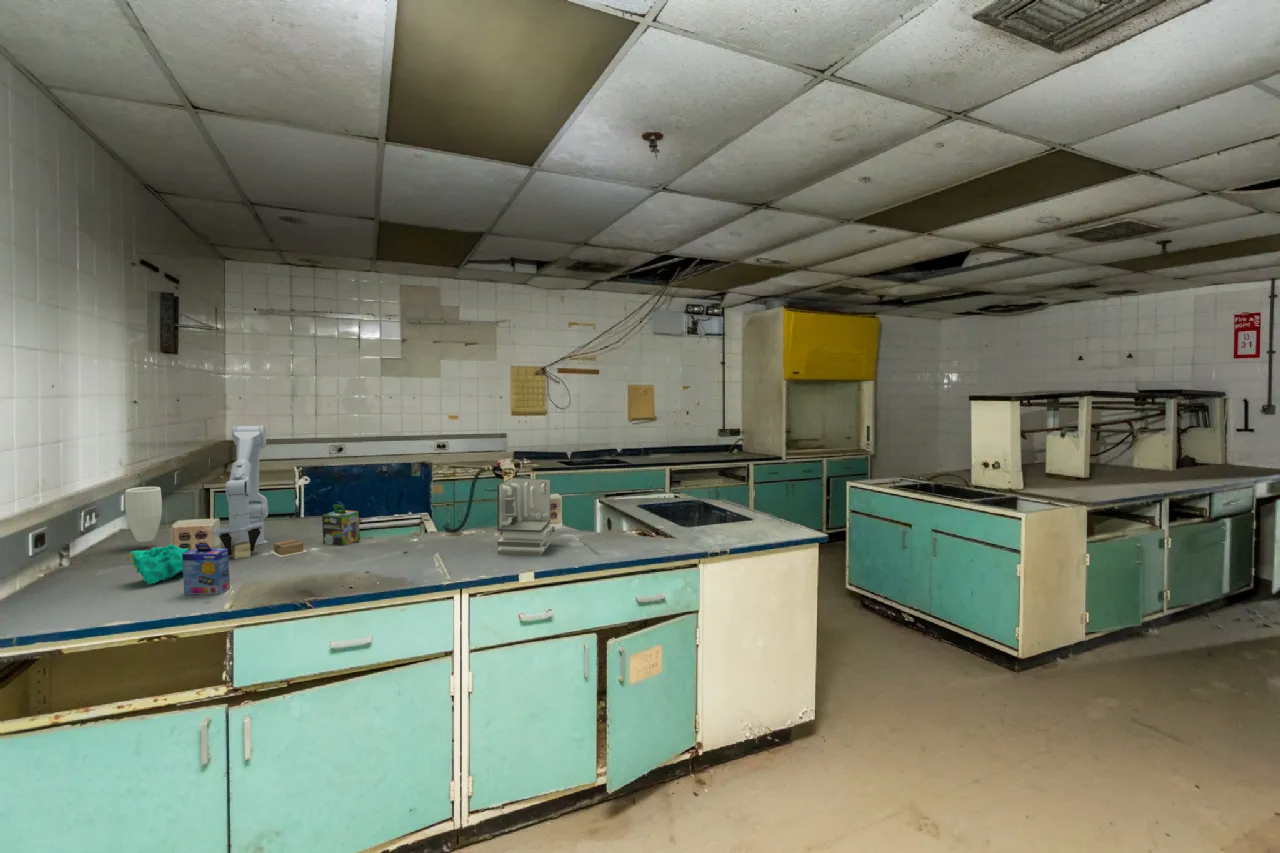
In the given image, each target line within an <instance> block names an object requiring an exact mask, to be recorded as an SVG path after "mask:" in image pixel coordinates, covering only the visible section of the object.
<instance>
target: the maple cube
mask: <svg viewBox="0 0 1280 853" xmlns="http://www.w3.org/2000/svg"><path fill="white" fill-rule="evenodd" d="M231 550H232V555H231V556H230V557H231V558H232V559H234V560H238V559H243V558H247V557H251V551H250V543H248V542H246V541H243V542H237V543H236V542H233V543H232V542H231Z"/></svg>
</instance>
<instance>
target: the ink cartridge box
mask: <svg viewBox="0 0 1280 853" xmlns="http://www.w3.org/2000/svg"><path fill="white" fill-rule="evenodd" d="M194 545H195V548H191V549H190V550H188V551H187V552H185V553H183V554H182V560H183V571H182V576H183V595H184V594H218V595H221V594H222V593H224V592H226V591H228V590H229V589H231V581H230V565H229V555H228V549H225V548H218V547H217V548H211V546H210V545H209V543H208V544H205V543H204V544H202V543H201V544H194ZM220 593H221V594H220Z"/></svg>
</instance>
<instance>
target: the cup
mask: <svg viewBox="0 0 1280 853" xmlns="http://www.w3.org/2000/svg"><path fill="white" fill-rule="evenodd" d="M124 492H125V493H124V495H125V499H124V500H125V501H124V502H125V504H124V505H125V514H126V520H127V522H128V525H129V530H131V533H132V535H133V537H134V539H135V540H136V541H137V542H138V543H145V542H150V541H154V540H155V537H156V536H157V534H158V530H159V528H160V525H161V520H162V515H163V502H162V497H163V496H162V489H161V487H159V486H141V487H140V486H139V487H132V488H128V489H126V490H125V491H124Z"/></svg>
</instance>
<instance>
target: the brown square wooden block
mask: <svg viewBox="0 0 1280 853" xmlns="http://www.w3.org/2000/svg"><path fill="white" fill-rule="evenodd" d="M304 550H305V548H304V542H302V541H299V540H297V539H290V540H284V541H280V542H274V543H273V551H274V552H276V553H278V554H280V555H287V554H292V553H297V552H302V551H304ZM302 553H303V552H302ZM297 554H298V553H297ZM292 555H293V554H292ZM287 556H288V555H287Z"/></svg>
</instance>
